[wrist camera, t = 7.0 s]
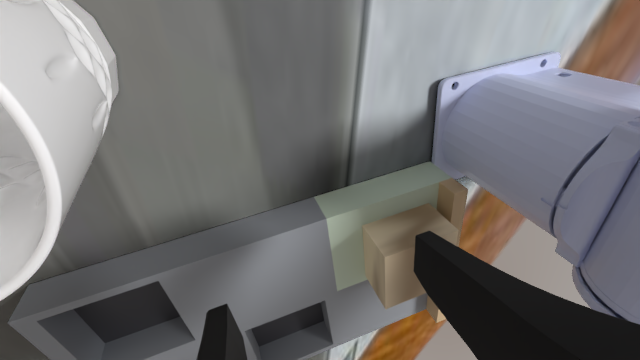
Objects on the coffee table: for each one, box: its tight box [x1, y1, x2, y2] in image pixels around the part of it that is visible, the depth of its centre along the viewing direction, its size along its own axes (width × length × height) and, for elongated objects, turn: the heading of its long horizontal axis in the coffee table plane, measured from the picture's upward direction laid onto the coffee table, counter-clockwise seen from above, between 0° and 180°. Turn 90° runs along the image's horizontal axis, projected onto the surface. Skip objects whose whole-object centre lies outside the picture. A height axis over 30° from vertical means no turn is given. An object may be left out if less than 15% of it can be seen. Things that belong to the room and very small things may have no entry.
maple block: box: [362, 203, 459, 310], centre depth 21 cm, size 5×5×3 cm
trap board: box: [8, 161, 468, 360], centre depth 23 cm, size 26×14×4 cm, turn 97°
